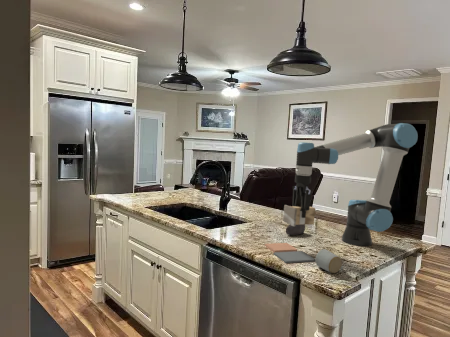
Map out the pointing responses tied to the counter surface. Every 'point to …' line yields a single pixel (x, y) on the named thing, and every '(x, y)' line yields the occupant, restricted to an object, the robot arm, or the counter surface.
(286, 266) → the counter surface
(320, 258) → the ceramic mug
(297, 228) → the perforated stone tool
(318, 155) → the robot arm
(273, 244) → the terracotta tile
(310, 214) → the tan rectangular block
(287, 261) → the slate mat
